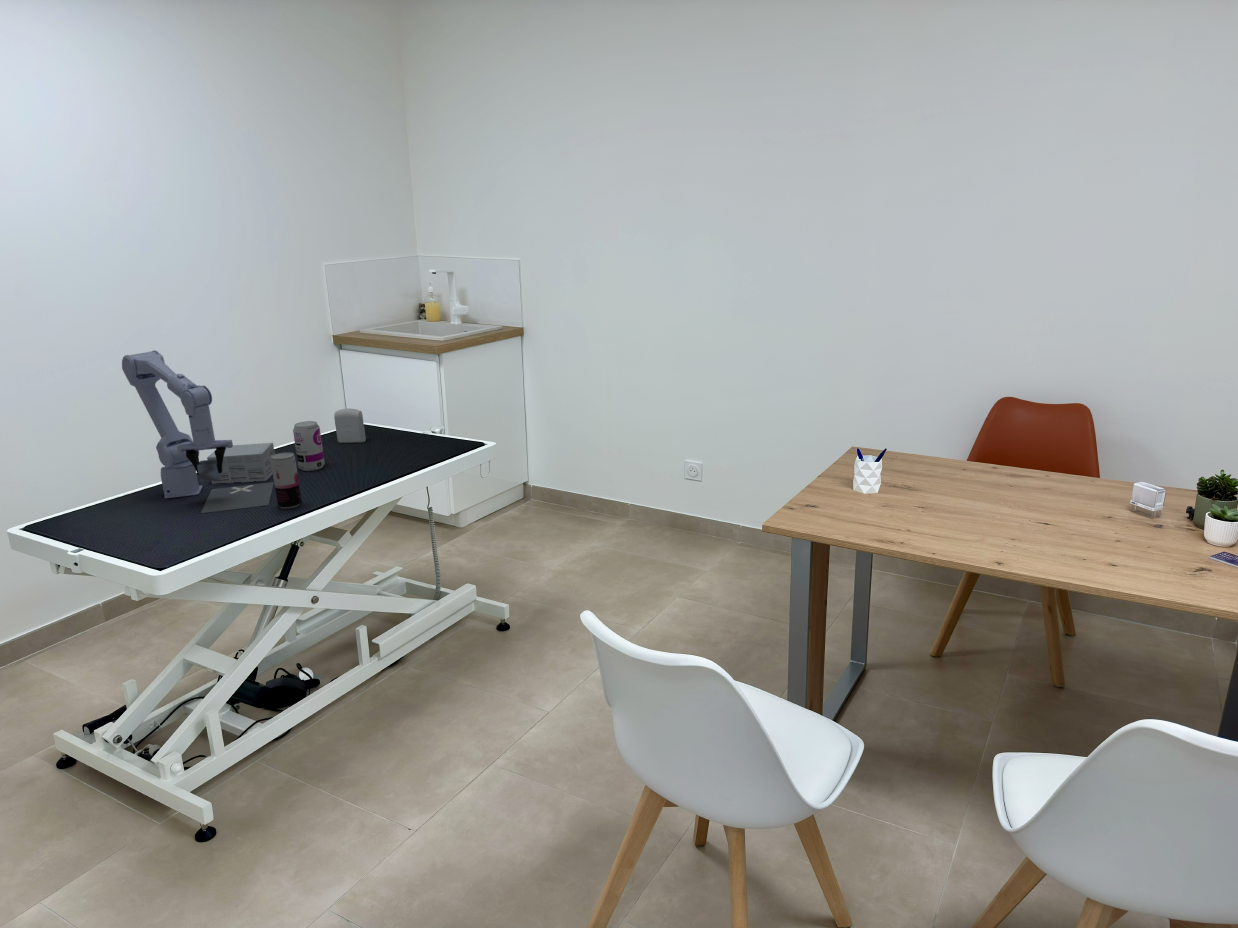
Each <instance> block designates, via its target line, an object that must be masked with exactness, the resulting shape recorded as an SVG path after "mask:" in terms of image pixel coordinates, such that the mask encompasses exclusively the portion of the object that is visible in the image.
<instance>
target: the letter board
mask: <svg viewBox="0 0 1238 928" xmlns="http://www.w3.org/2000/svg"><path fill="white" fill-rule="evenodd" d="M274 486H275V485H274V481H272V482H271V481H270V482H263V483H262V482H261V483H255V484H254V483H253V484H246V485H238V486H236V485H235V486H230V487H229V486H228V487H220V488H219V487H218V488H213V489H212V488H211V489H210V492H209V494H208V496H207V498H206V501H205V502H204V505H203V507H202V510H201V512H200V514H201V515H202V514H207V513H209V514H210V513H217V512H227V511H233V510H234V511H235V510H242V509H250V508H251V509H252V508H259V507H265V506H266V507H268V506H269V505H270V500H271V498H272V492H273V489H274Z"/></svg>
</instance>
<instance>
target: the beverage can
mask: <svg viewBox="0 0 1238 928" xmlns="http://www.w3.org/2000/svg"><path fill="white" fill-rule="evenodd" d="M270 460H271V466H272V472H273V474H272V476H273V482H274V485H273V486H274V491H275V496H276V501H277V502H276V503H277V506H278V507H279V508H280V509H292V508H293V509H294V508H297V507H298V506H300V505H301V504H302V502H303V499H302V495H301V488H300V482H299V481H300V480H299V474H298V466H297V462H296V460H297V459H296V456H295V453H294V452H280V453H275V455H272V456H271V459H270Z"/></svg>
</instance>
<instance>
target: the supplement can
mask: <svg viewBox="0 0 1238 928" xmlns="http://www.w3.org/2000/svg"><path fill="white" fill-rule="evenodd" d="M292 432H293V433H292V434H293V439H294V447H295V452H296V460H297V468H298V469H300V470H301V471H303V472H304V471H305V472H313V471H318V470H320V469H322V468H323V467H324V466H325V464H326V463H325V455H324V449H323V448H324V447H323V442H322V434H321V428H320V425H319V424H318V422H317V421H313V420H311V421H300V422H297V423H294V426H293V429H292Z"/></svg>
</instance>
